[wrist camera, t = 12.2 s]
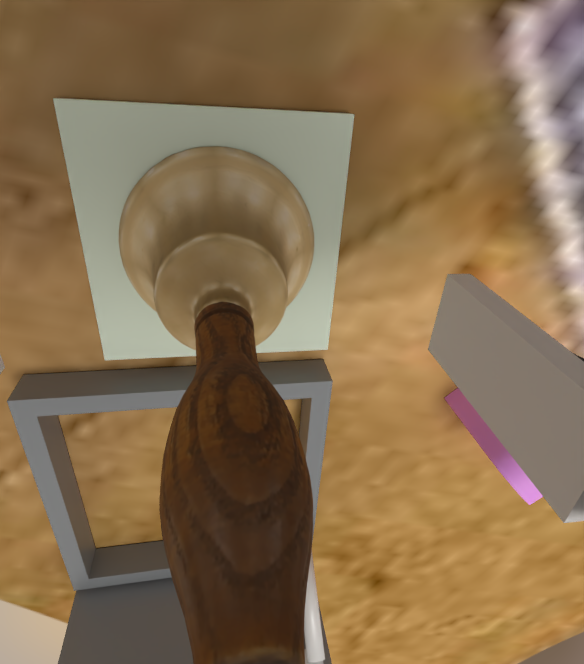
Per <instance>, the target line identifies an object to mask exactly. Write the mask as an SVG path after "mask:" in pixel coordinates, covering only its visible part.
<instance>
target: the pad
mask: <svg viewBox="0 0 584 664" xmlns="http://www.w3.org/2000/svg"><path fill="white" fill-rule="evenodd" d="M53 101H54V106H55V111H56V116H57V121H58V126H59V131H60V136H61V141H62V146H63V151H64V156H65V161H66V166H67V171H68V176H69V182H70V187H71V192H72V197H73V202H74V207H75V212H76V217H77V222H78V227H79V232H80V237H81V242H82V247H83V252H84V257H85V263H86V268H87V273H88V278H89V283H90V288H91V293H92V298H93V303H94V308H95V313H96V318H97V323H98V328H99V333H100V338H101V344H102V349H103V354H104V359H105V360H121V359H142V358H163V357H184V356H196V350H193V349H191V348H189V347H187V346H185V345H184V344H182V343H181V342H179V341H178V340H177V339H175V338H174V337H173V336H172V335H171V334H170V333H169V332H168V330H167V329H166V328H165V326H164V325H163V323H162V322H161V320H160V318H159V316H158V314H157V312H156V311H155V310H153V309H152V308H151V307H150V306H149V305H148V304H147V303H146V302H145V301H144V300H143V299H142V298H141V297H140V295H139V294H138V293H137V291H136V290H135V288H134V287H133V285H132V284H131V282H130V280H129V278H128V276H127V274H126V271H125V269H124V267H123V263H122V259H121V255H120V248H119V224H120V219H121V214H122V211H123V208H124V205H125V202H126V200H127V198H128V196H129V194H130V192H131V191H132V189H133V188H134V186H135V185H136V184H137V182H138V181H139V180H140V179H141V178H142V177H143V176H144V175H145V174H146V173H147V172H148V171H149V170H150V169H151V168H152V167H153V166H155V165H156V164H158V163H159V162H161V161H162V160H163V159H165V158H166V157H169V156H170V155H172V154H176V153H178V152H182V151H185V150H187V149H192V148H196V147H211V146H220V147H230V148H235V149H239V150H243V151H246V152H249V153H251V154H254V155H257V156H258V157H260V158H262V159H264V160H266V161H267V162H269V163H271V164H272V165H274V166H275V167H276V168H277V169H279V170H280V171H281V172H282V173H283V174H284V175H285V176H286V177H287V178H288V179H289V180H290V181H291V182H292V183H293V185H294V186H295V187H296V188H297V190H298V191H299V193H300V194H301V196H302V198H303V200H304V202H305V204H306V206H307V208H308V211H309V213H310V217H311V221H312V225H313V230H314V255H313V260H312V265H311V268H310V271H309V274H308V277H307V279H306V281H305V283H304V285H303V287H302V288H301V290H300V292H299V293H298V295H297V296H296V297H295V299H294V300H293V301H292V302H291V303H290V304H289V305H288V306H287V307H286V310H285V313H284V316H283V318H282V320H281V322H280V324H279V325H278V327H277V328H276V329H275V331H274V332H273V333H272V334H271V335H270V336H269V337H268V338H267V339H266V340H265V341H263V342H262V343H260V344H259V345H257V346H256V353H267V352H288V351H309V350H328V343H329V334H330V325H331V316H332V308H333V299H334V290H335V281H336V272H337V263H338V255H339V246H340V237H341V228H342V219H343V211H344V202H345V193H346V184H347V175H348V166H349V158H350V149H351V140H352V131H353V122H354V114H351V113H335V112H316V111H297V110H278V109H259V108H240V107H222V106H203V105H184V104H165V103H146V102H127V101H108V100H89V99H70V98H53Z"/></svg>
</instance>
